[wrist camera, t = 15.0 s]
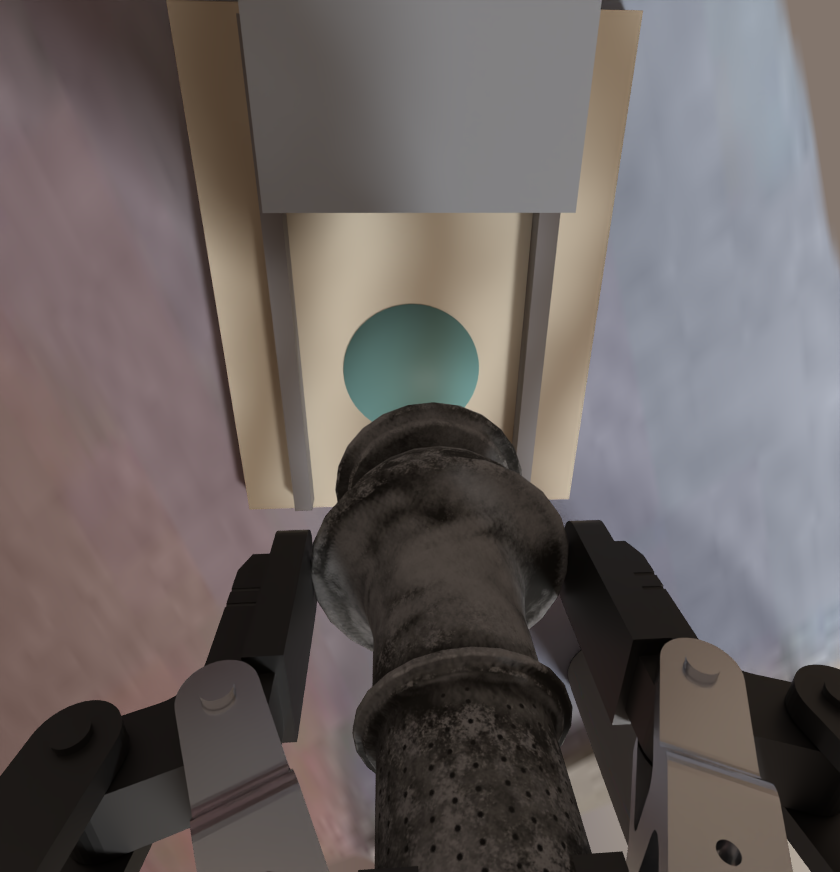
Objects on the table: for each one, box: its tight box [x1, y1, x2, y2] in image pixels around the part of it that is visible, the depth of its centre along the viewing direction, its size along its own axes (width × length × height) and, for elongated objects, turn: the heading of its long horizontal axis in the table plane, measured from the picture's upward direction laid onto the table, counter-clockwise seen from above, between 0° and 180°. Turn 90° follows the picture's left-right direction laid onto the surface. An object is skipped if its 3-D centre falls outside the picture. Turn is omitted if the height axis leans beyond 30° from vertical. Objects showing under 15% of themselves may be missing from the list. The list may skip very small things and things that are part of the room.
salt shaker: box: [311, 402, 592, 872], centre depth 10 cm, size 6×6×12 cm
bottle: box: [568, 650, 637, 845], centre depth 29 cm, size 6×6×15 cm
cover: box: [238, 0, 602, 213], centre depth 16 cm, size 9×8×6 cm
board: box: [166, 0, 643, 511], centre depth 23 cm, size 16×20×2 cm
